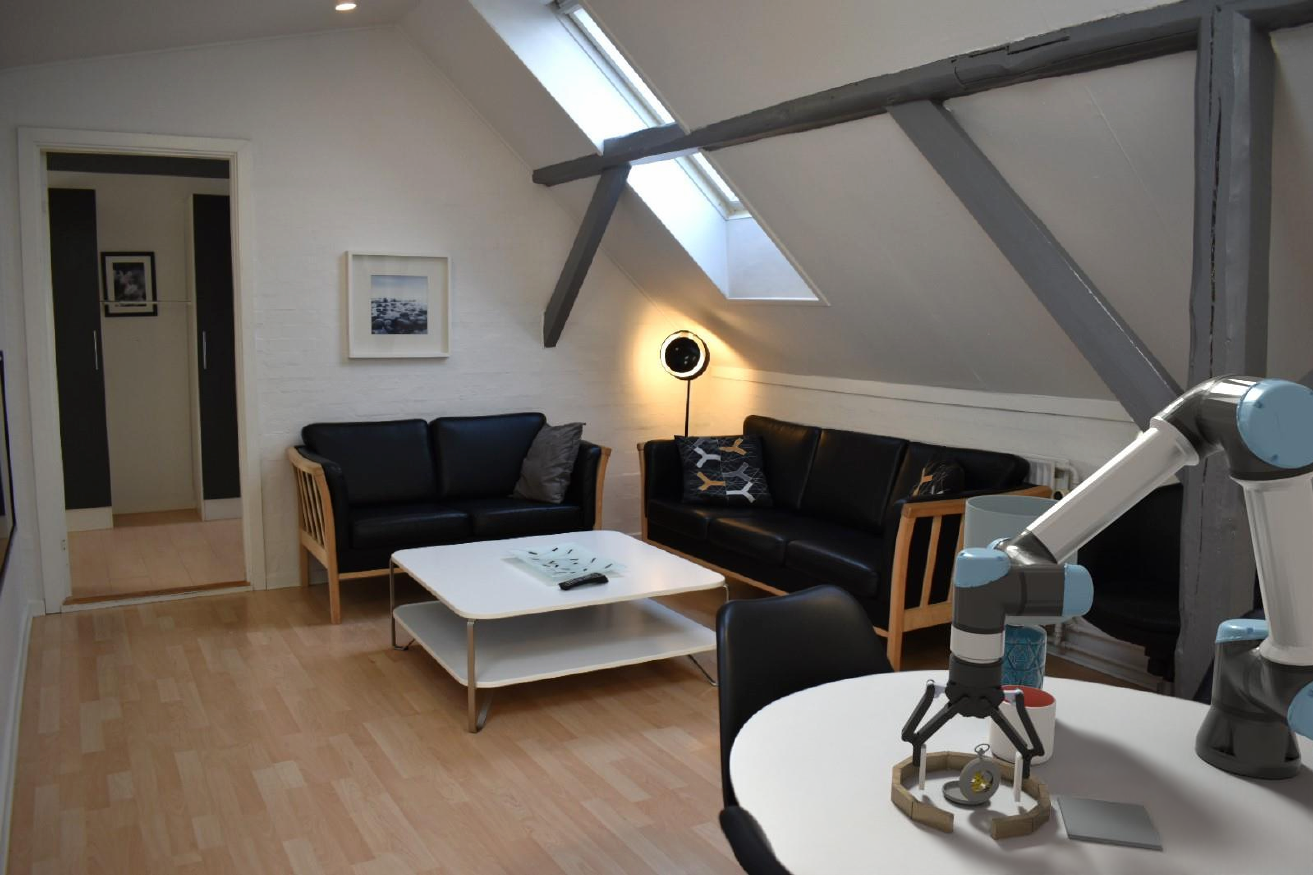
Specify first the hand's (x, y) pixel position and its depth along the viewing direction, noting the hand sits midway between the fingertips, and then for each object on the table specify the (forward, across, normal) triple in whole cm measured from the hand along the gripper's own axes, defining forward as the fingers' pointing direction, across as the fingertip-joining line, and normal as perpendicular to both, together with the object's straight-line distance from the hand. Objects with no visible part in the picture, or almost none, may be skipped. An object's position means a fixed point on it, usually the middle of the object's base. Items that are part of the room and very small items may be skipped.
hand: (968, 792), depth 158 cm
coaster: (+1, -19, +2) cm, 19 cm away
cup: (+2, -9, -19) cm, 21 cm away
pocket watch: (+2, 0, 0) cm, 2 cm away
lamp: (+1, -9, -39) cm, 40 cm away
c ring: (+1, 0, 0) cm, 1 cm away
